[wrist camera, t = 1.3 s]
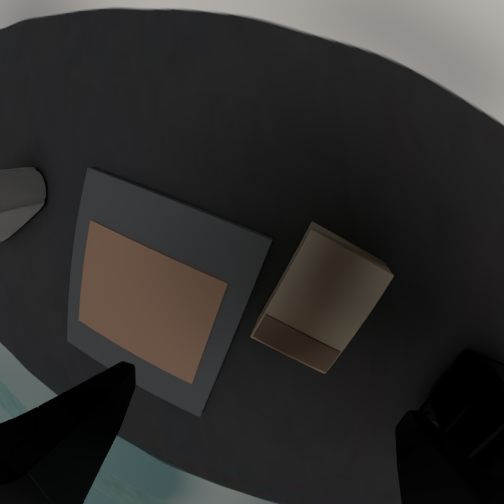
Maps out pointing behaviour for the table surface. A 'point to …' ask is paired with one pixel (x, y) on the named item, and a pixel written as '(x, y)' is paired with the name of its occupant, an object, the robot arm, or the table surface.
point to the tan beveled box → (321, 299)
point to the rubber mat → (159, 286)
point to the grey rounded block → (19, 198)
